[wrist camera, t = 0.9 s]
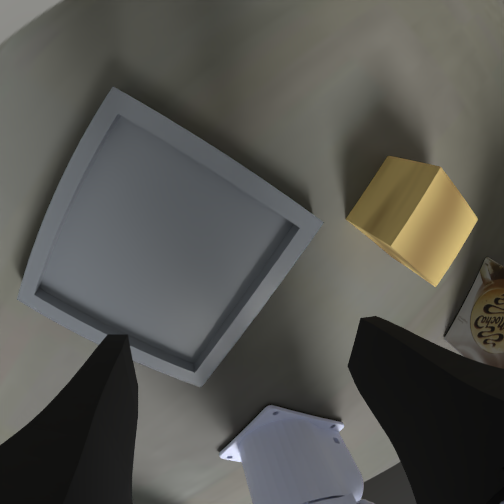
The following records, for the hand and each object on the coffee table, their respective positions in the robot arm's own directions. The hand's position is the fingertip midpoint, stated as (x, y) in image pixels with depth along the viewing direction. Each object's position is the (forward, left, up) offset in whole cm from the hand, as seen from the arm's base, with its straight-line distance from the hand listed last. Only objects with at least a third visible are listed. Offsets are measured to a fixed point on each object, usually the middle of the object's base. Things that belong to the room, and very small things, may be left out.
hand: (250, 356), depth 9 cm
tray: (+3, +2, -10) cm, 10 cm away
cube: (-8, -8, -10) cm, 15 cm away
